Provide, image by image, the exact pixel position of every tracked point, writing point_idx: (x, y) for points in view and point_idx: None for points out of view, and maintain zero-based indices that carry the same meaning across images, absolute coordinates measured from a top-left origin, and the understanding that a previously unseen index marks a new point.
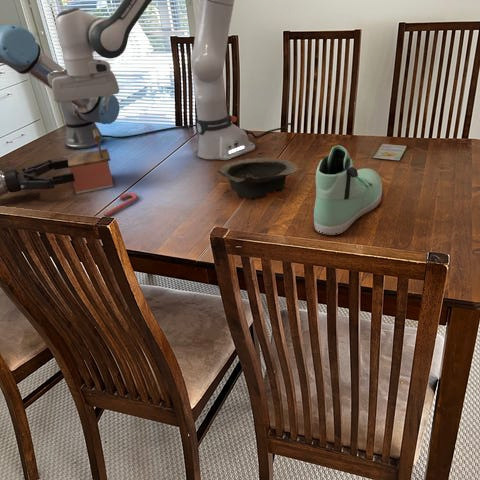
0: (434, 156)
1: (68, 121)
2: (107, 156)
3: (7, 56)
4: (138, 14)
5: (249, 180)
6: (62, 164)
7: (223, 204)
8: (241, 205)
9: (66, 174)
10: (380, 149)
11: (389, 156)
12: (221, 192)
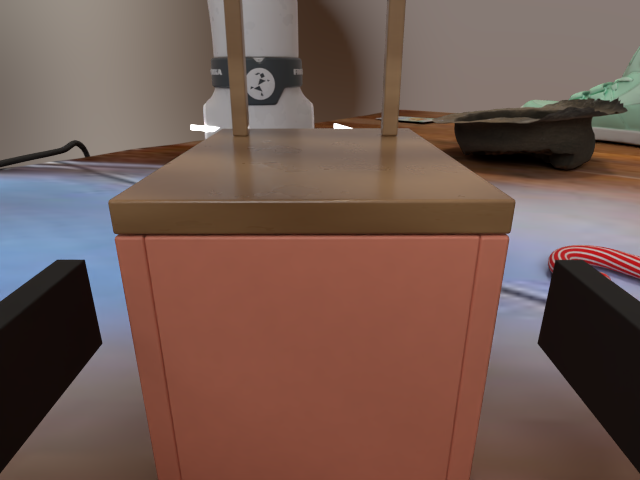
0: (435, 116)
1: None
2: (370, 129)
3: None
4: None
5: (616, 107)
6: (19, 375)
7: (602, 182)
8: (604, 173)
9: (622, 294)
10: None
11: (426, 119)
12: (527, 179)
